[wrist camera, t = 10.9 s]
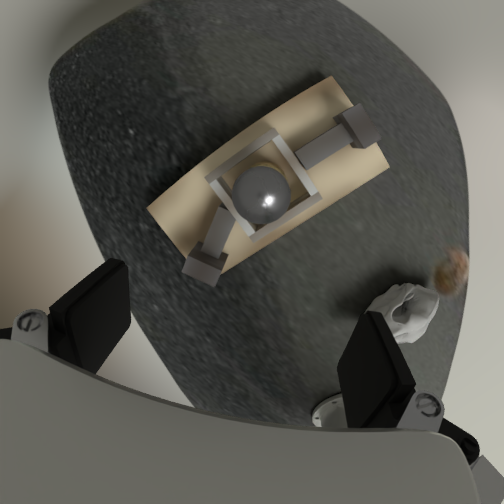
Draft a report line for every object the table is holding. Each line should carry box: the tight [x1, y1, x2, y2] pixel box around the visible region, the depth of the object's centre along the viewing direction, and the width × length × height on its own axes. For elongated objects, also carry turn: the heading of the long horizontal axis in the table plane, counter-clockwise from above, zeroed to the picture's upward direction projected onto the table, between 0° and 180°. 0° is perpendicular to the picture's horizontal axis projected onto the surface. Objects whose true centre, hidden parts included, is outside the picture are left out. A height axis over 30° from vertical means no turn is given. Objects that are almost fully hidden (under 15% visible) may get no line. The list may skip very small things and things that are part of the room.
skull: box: [365, 283, 439, 344], centre depth 29 cm, size 8×9×12 cm
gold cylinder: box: [232, 161, 291, 224], centre depth 23 cm, size 4×4×7 cm
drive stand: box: [147, 76, 390, 287], centre depth 26 cm, size 11×24×6 cm, turn 126°
